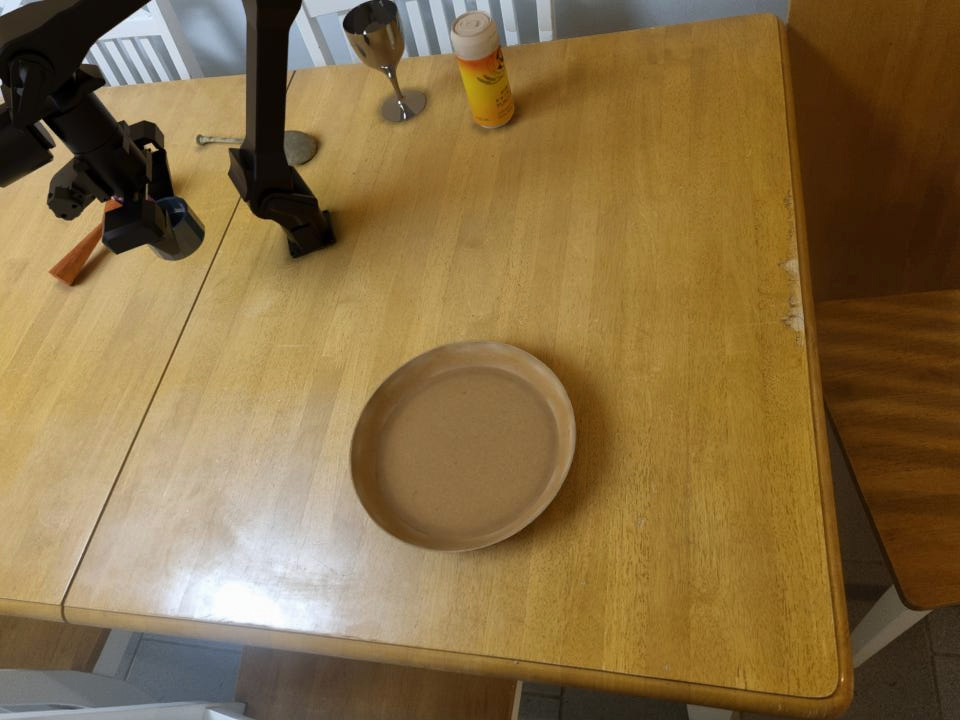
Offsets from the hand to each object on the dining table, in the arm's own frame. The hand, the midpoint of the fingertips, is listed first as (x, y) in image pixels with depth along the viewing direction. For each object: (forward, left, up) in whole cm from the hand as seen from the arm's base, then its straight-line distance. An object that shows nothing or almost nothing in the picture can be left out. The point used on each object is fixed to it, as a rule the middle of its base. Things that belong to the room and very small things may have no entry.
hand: (175, 233), depth 90 cm
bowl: (0, 0, -2) cm, 2 cm away
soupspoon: (-27, +8, -12) cm, 30 cm away
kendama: (-19, -16, -12) cm, 27 cm away
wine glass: (-24, +32, -11) cm, 41 cm away
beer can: (-14, +44, -12) cm, 47 cm away
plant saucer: (+36, +26, -12) cm, 46 cm away
